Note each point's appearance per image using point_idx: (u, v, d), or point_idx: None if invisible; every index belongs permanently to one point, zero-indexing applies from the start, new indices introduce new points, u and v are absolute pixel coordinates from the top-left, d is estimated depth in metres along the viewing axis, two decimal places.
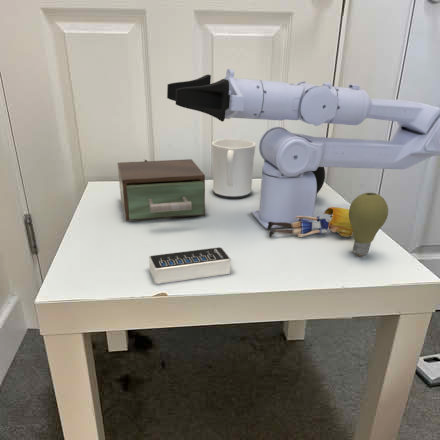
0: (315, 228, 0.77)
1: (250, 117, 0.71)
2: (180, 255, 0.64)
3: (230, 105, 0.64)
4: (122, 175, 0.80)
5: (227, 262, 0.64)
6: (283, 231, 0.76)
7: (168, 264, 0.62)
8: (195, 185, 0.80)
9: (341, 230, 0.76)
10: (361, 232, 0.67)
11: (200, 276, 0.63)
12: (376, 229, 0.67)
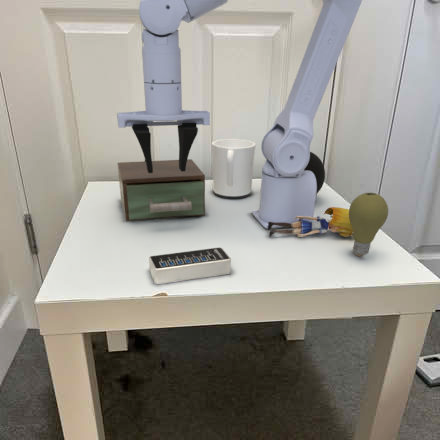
0: (315, 228, 0.77)
1: (157, 92, 0.68)
2: (180, 255, 0.64)
3: None
4: (122, 175, 0.80)
5: (227, 262, 0.64)
6: (283, 231, 0.76)
7: (168, 264, 0.62)
8: (195, 185, 0.80)
9: (341, 230, 0.76)
10: (361, 232, 0.67)
11: (200, 276, 0.63)
12: (376, 229, 0.67)
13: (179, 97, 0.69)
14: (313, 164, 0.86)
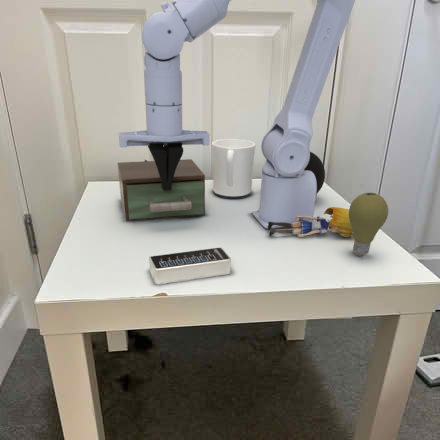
0: (315, 228, 0.77)
1: (158, 114, 0.69)
2: (180, 255, 0.64)
3: None
4: (122, 175, 0.80)
5: (227, 262, 0.64)
6: (283, 231, 0.76)
7: (168, 264, 0.62)
8: (195, 185, 0.80)
9: (341, 230, 0.76)
10: (361, 232, 0.67)
11: (200, 276, 0.63)
12: (376, 229, 0.67)
13: (180, 118, 0.71)
14: (313, 164, 0.86)
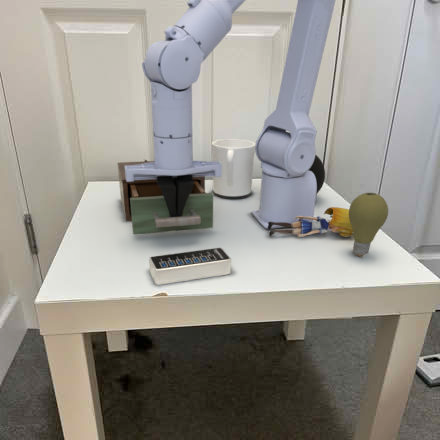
0: (315, 228, 0.77)
1: (167, 146, 0.64)
2: (180, 256, 0.64)
3: None
4: (122, 175, 0.80)
5: (227, 262, 0.64)
6: (283, 231, 0.76)
7: (169, 265, 0.62)
8: (204, 197, 0.74)
9: (341, 230, 0.76)
10: (361, 232, 0.67)
11: (201, 276, 0.63)
12: (376, 229, 0.67)
13: (190, 150, 0.66)
14: (313, 164, 0.86)
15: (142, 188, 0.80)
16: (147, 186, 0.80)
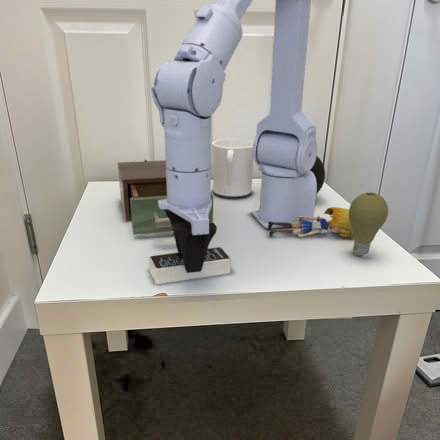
0: (315, 228, 0.76)
1: (209, 177, 0.58)
2: (180, 255, 0.64)
3: None
4: (122, 175, 0.80)
5: (227, 262, 0.64)
6: (283, 231, 0.76)
7: (168, 264, 0.62)
8: None
9: (341, 230, 0.76)
10: (361, 232, 0.67)
11: (200, 276, 0.63)
12: (376, 229, 0.67)
13: None
14: None
15: (142, 188, 0.80)
16: (147, 186, 0.80)
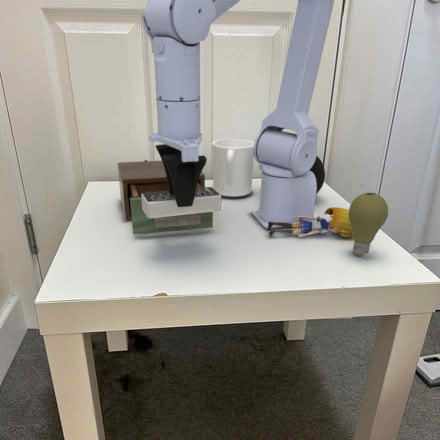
0: (315, 228, 0.76)
1: (199, 109, 0.59)
2: (172, 192, 0.66)
3: (192, 160, 0.56)
4: (122, 175, 0.80)
5: (217, 198, 0.65)
6: (283, 231, 0.76)
7: (160, 199, 0.63)
8: None
9: (341, 230, 0.76)
10: (361, 232, 0.67)
11: (191, 212, 0.65)
12: (376, 229, 0.67)
13: None
14: (313, 164, 0.86)
15: (142, 188, 0.80)
16: (147, 186, 0.80)
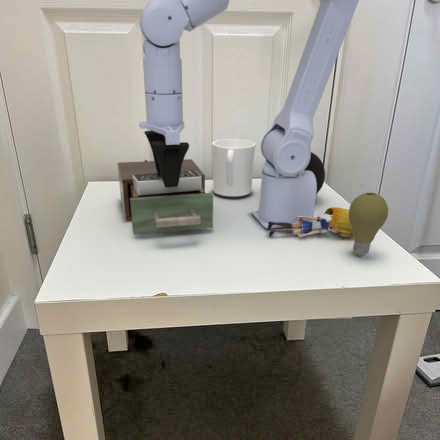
0: (315, 228, 0.76)
1: (181, 101, 0.70)
2: (159, 174, 0.76)
3: (175, 143, 0.67)
4: (122, 175, 0.80)
5: (198, 179, 0.76)
6: (283, 231, 0.76)
7: (148, 179, 0.74)
8: (204, 197, 0.74)
9: (341, 230, 0.76)
10: (361, 232, 0.67)
11: (176, 190, 0.75)
12: (376, 229, 0.67)
13: None
14: (313, 164, 0.86)
15: None
16: None
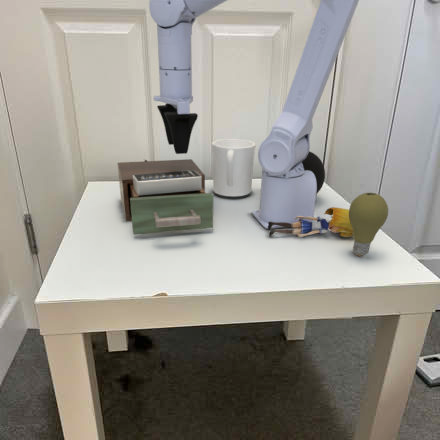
0: (315, 228, 0.76)
1: (191, 76, 0.79)
2: (159, 174, 0.76)
3: (185, 113, 0.77)
4: (122, 175, 0.80)
5: (198, 179, 0.76)
6: (283, 231, 0.76)
7: (148, 179, 0.74)
8: (204, 197, 0.74)
9: (341, 230, 0.76)
10: (361, 232, 0.67)
11: (176, 190, 0.75)
12: (376, 229, 0.67)
13: None
14: (313, 164, 0.86)
15: None
16: None
